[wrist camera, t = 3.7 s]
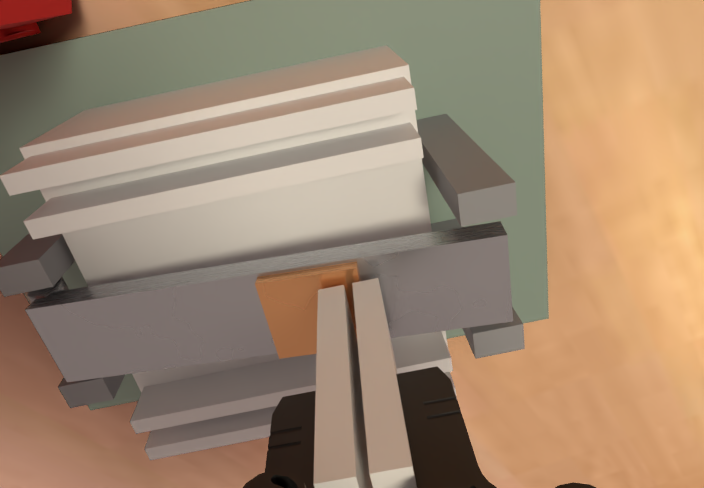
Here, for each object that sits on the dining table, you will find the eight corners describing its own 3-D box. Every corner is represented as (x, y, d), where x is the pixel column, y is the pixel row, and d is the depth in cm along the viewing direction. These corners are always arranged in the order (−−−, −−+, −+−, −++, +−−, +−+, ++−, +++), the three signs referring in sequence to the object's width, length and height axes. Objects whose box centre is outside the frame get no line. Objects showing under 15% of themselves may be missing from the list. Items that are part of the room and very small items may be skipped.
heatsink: (98, 393, 28) (9, 568, 20) (-79, 72, 21) (-344, 135, 12) (539, 305, 28) (638, 446, 19) (526, -60, 20) (680, -88, 12)
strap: (78, 354, 20) (46, 397, 18) (36, 277, 18) (-4, 314, 16) (500, 294, 18) (516, 334, 16) (493, 202, 16) (510, 235, 14)
